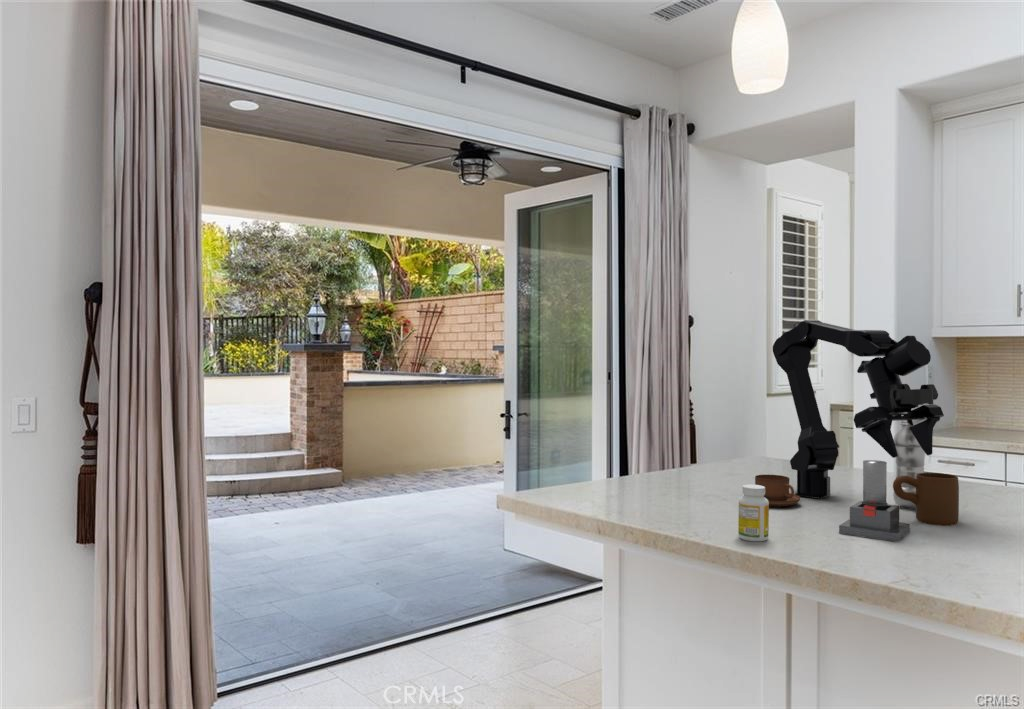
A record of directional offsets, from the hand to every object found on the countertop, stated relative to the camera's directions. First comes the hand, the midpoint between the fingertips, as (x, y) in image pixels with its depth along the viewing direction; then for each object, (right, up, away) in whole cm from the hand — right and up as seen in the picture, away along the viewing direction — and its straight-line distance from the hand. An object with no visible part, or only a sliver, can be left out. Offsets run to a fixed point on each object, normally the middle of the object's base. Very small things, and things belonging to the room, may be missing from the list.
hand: (912, 456), depth 151 cm
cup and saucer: (-22, -14, +18) cm, 32 cm away
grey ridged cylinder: (-12, -12, -9) cm, 19 cm away
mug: (+3, -13, 0) cm, 14 cm away
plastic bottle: (+7, -13, +13) cm, 20 cm away
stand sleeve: (-12, -13, -9) cm, 20 cm away
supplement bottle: (-36, -14, -13) cm, 41 cm away
